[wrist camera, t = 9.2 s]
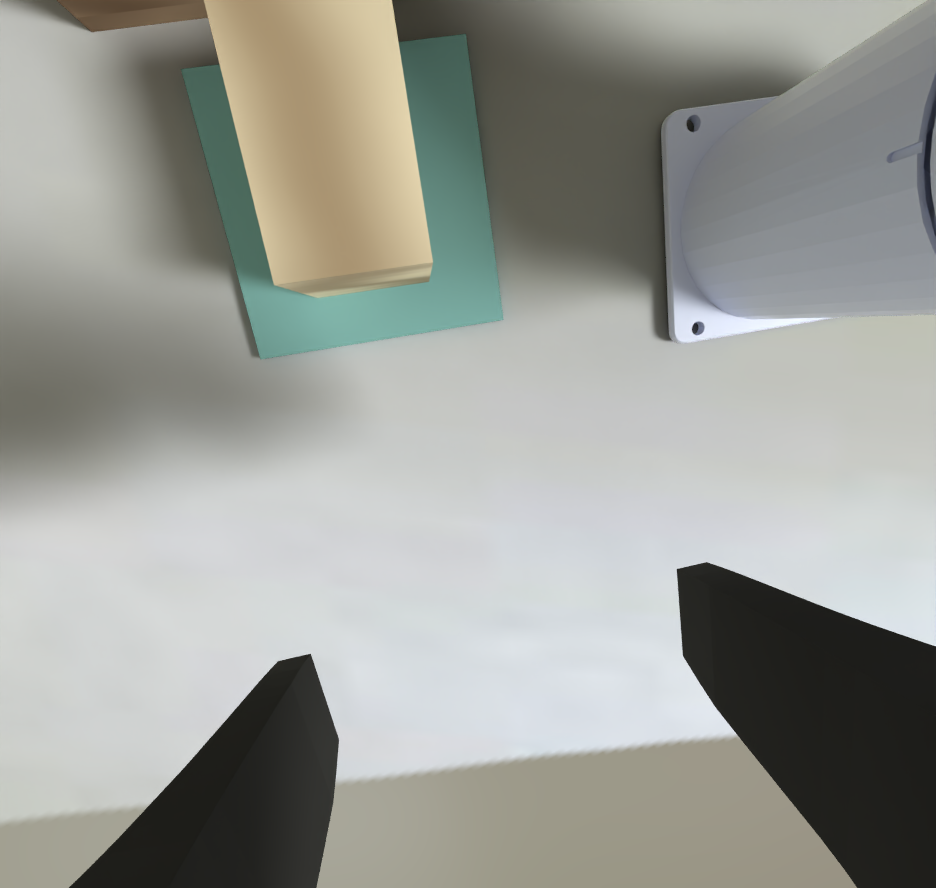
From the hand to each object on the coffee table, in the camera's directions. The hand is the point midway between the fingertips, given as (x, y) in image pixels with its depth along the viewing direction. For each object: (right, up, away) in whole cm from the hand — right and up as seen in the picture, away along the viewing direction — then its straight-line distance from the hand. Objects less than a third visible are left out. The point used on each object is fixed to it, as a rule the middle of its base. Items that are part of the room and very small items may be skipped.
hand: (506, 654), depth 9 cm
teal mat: (-5, +12, +7) cm, 15 cm away
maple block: (-5, +12, +7) cm, 15 cm away
